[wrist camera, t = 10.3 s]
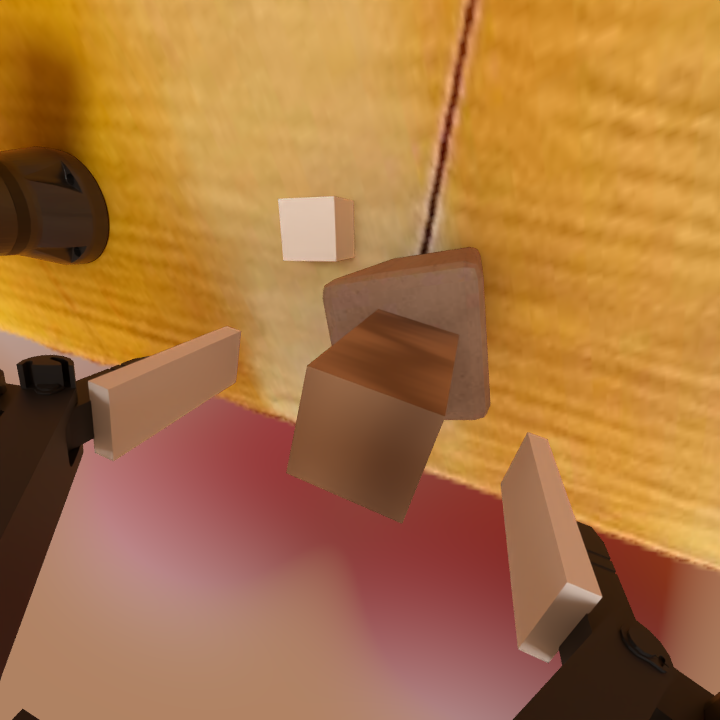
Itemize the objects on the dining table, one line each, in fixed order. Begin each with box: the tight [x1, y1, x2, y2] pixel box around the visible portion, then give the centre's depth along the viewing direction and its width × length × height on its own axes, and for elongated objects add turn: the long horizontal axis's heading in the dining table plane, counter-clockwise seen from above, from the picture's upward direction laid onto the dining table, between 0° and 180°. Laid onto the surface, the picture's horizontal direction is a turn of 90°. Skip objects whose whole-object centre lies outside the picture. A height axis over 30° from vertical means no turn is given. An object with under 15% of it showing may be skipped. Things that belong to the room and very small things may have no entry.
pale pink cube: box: [278, 196, 355, 261], centre depth 38 cm, size 6×6×6 cm
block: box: [323, 247, 490, 420], centre depth 31 cm, size 10×10×20 cm
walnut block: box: [286, 309, 459, 523], centre depth 17 cm, size 5×5×10 cm
